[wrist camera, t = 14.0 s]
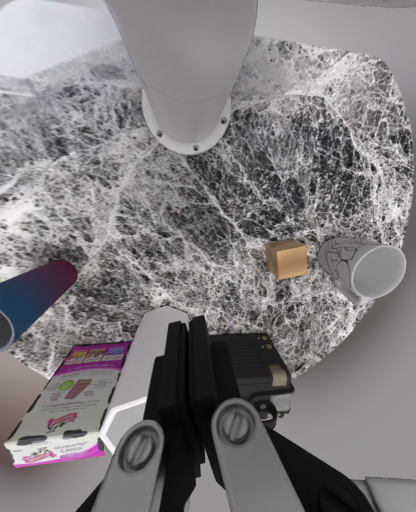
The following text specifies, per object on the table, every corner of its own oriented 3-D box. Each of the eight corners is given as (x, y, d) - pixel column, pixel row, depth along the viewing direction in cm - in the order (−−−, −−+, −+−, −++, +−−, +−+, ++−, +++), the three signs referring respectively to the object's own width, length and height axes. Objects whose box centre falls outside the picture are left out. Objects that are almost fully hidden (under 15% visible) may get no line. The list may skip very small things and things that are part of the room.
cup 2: (192, 352, 43) (195, 463, 25) (137, 352, 42) (101, 470, 24) (195, 305, 40) (202, 396, 22) (136, 304, 38) (93, 399, 21)
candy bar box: (78, 365, 41) (12, 470, 26) (73, 344, 40) (-1, 443, 24) (135, 360, 42) (105, 459, 27) (132, 340, 41) (98, 432, 25)
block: (265, 244, 37) (276, 251, 33) (291, 238, 37) (306, 245, 33) (267, 269, 39) (278, 279, 34) (293, 263, 39) (307, 273, 34)
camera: (265, 371, 47) (299, 450, 32) (204, 374, 45) (212, 459, 31) (271, 331, 43) (312, 399, 29) (206, 333, 42) (215, 406, 28)
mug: (351, 282, 42) (400, 309, 32) (311, 290, 41) (349, 320, 32) (355, 227, 38) (410, 240, 29) (311, 236, 38) (353, 251, 28)
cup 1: (75, 296, 37) (4, 363, 23) (35, 281, 35) (-68, 342, 21) (88, 265, 35) (22, 315, 21) (47, 247, 34) (-55, 289, 20)
